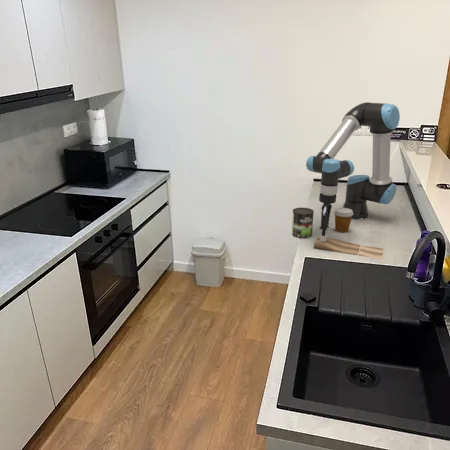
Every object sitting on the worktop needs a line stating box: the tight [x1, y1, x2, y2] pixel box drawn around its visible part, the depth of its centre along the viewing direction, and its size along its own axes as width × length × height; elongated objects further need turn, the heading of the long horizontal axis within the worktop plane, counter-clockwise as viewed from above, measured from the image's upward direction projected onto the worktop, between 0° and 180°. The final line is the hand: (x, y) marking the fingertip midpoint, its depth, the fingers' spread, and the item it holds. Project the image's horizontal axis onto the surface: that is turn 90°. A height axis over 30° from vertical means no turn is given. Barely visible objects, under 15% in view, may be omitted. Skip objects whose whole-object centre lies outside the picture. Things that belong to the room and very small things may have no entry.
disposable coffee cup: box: [334, 207, 353, 233], centre depth 221 cm, size 10×10×12 cm
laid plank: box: [358, 244, 384, 260], centre depth 197 cm, size 12×10×1 cm
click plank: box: [313, 234, 361, 256], centre depth 202 cm, size 12×20×1 cm, turn 68°
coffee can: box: [291, 207, 315, 240], centre depth 215 cm, size 10×10×14 cm
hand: (323, 241), depth 204 cm, fingers closed
